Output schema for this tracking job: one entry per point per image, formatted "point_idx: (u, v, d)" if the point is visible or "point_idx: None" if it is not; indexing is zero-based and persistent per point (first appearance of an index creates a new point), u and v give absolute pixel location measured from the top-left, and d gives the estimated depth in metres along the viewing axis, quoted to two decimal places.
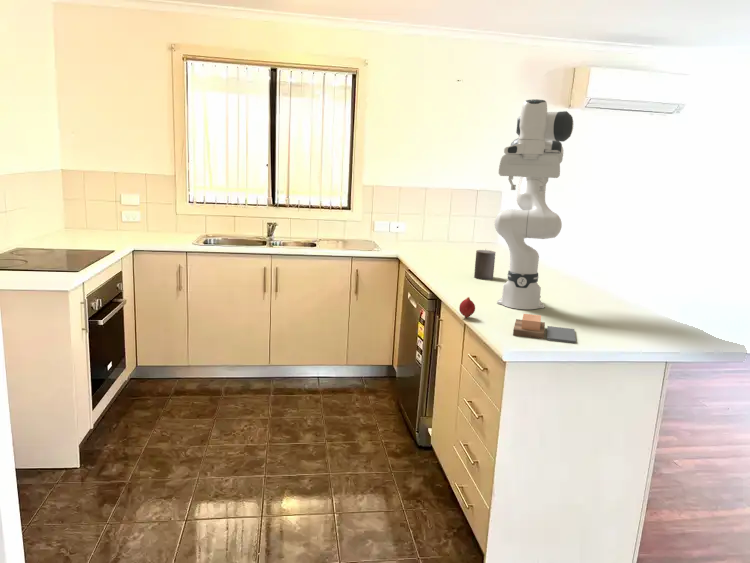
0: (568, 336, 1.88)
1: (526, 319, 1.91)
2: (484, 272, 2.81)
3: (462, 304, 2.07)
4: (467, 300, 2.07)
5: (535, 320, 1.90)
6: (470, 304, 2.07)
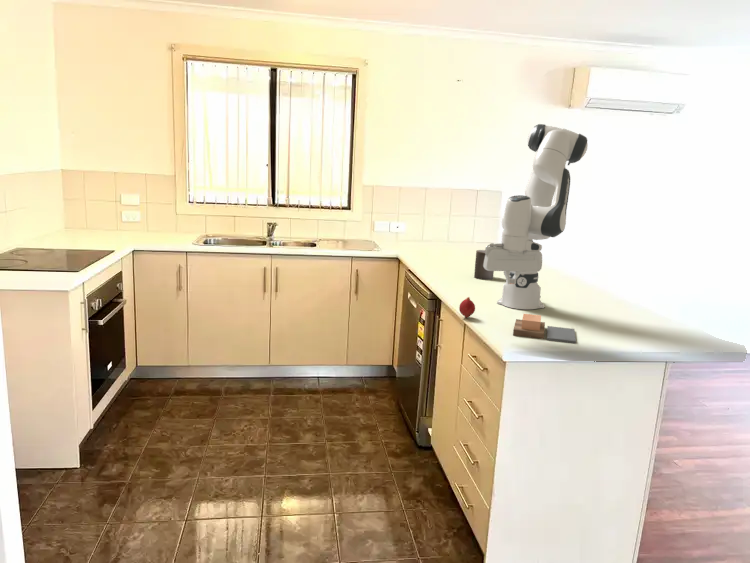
0: (568, 336, 1.88)
1: (526, 319, 1.91)
2: (484, 272, 2.81)
3: (462, 304, 2.07)
4: (467, 300, 2.07)
5: (535, 320, 1.90)
6: (470, 304, 2.07)
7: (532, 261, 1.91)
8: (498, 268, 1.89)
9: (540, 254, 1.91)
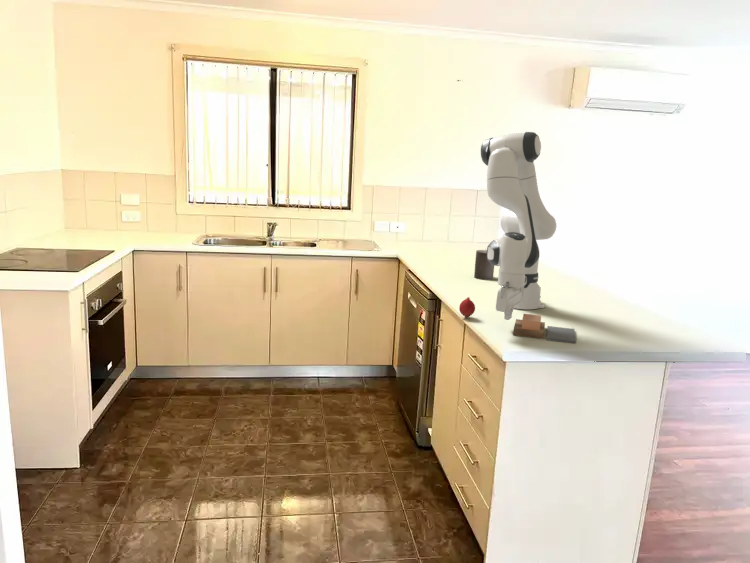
0: (568, 336, 1.88)
1: (526, 319, 1.91)
2: (484, 272, 2.81)
3: (462, 304, 2.07)
4: (467, 300, 2.07)
5: (535, 320, 1.90)
6: (470, 304, 2.07)
7: (519, 293, 1.99)
8: (509, 307, 1.89)
9: (524, 285, 2.00)
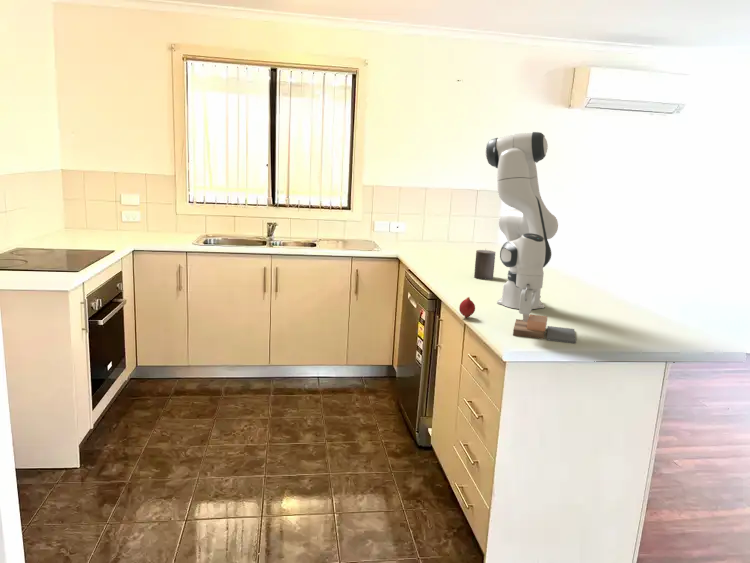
0: (568, 336, 1.88)
1: (531, 320, 1.91)
2: (484, 272, 2.81)
3: (462, 304, 2.07)
4: (467, 300, 2.07)
5: (540, 321, 1.90)
6: (470, 304, 2.07)
7: (534, 294, 1.98)
8: (531, 309, 1.87)
9: None
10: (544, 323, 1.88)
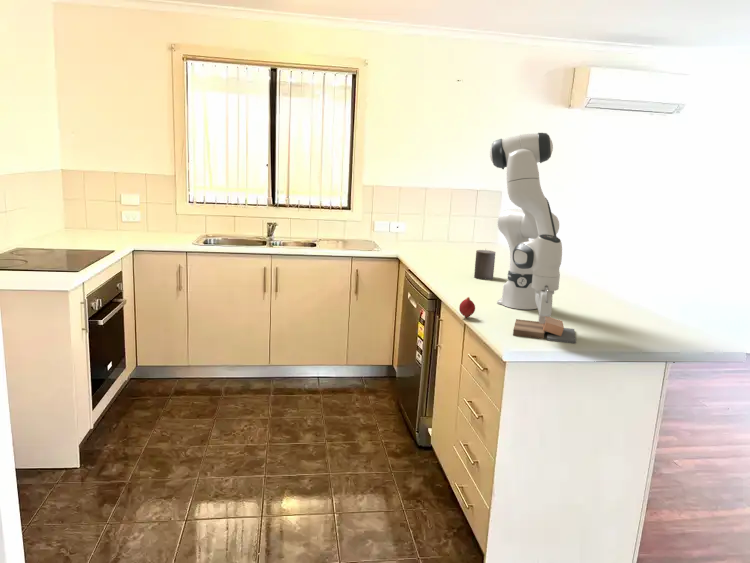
0: (568, 336, 1.88)
1: (549, 322, 1.89)
2: (484, 272, 2.81)
3: (462, 304, 2.07)
4: (467, 300, 2.07)
5: (558, 325, 1.88)
6: (470, 304, 2.07)
7: None
8: None
9: None
10: (562, 328, 1.87)
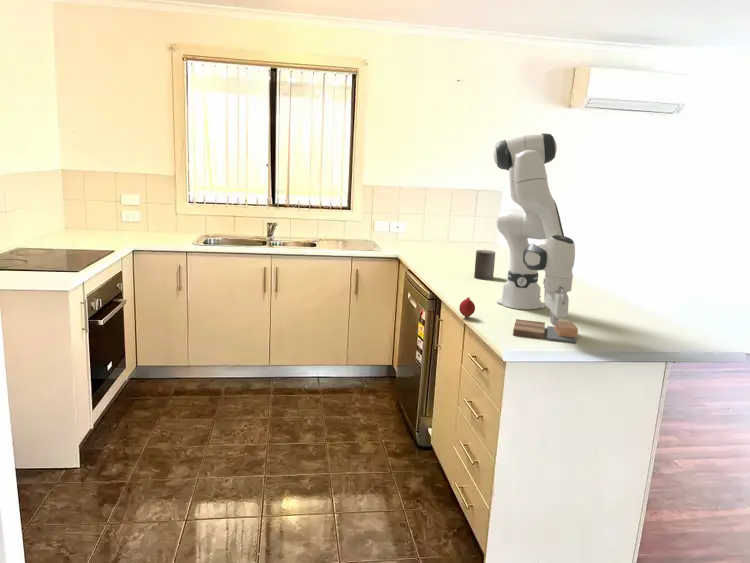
0: None
1: (562, 326, 1.88)
2: (484, 272, 2.81)
3: (462, 304, 2.07)
4: (467, 300, 2.07)
5: (571, 327, 1.88)
6: (470, 304, 2.06)
7: None
8: None
9: None
10: (576, 329, 1.87)
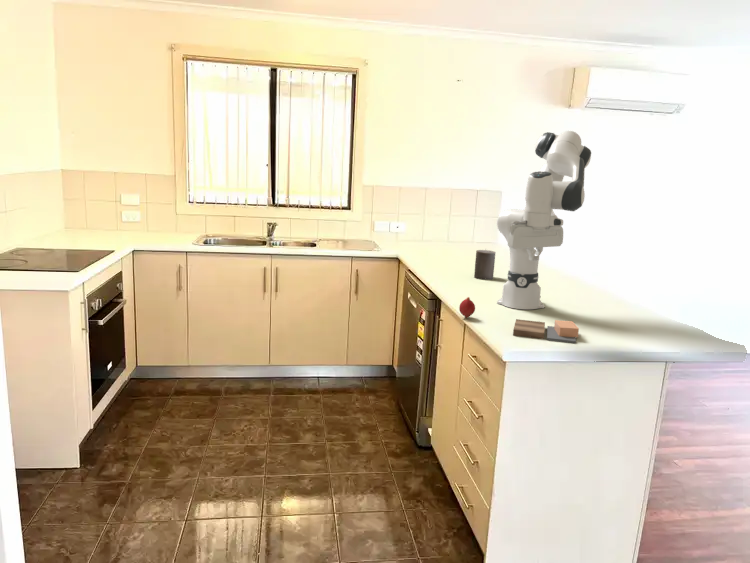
0: None
1: (563, 326, 1.88)
2: (484, 272, 2.81)
3: (462, 304, 2.07)
4: (467, 300, 2.07)
5: (572, 327, 1.88)
6: (470, 304, 2.07)
7: (554, 236, 1.93)
8: (523, 245, 1.90)
9: (561, 229, 1.93)
10: (577, 329, 1.87)
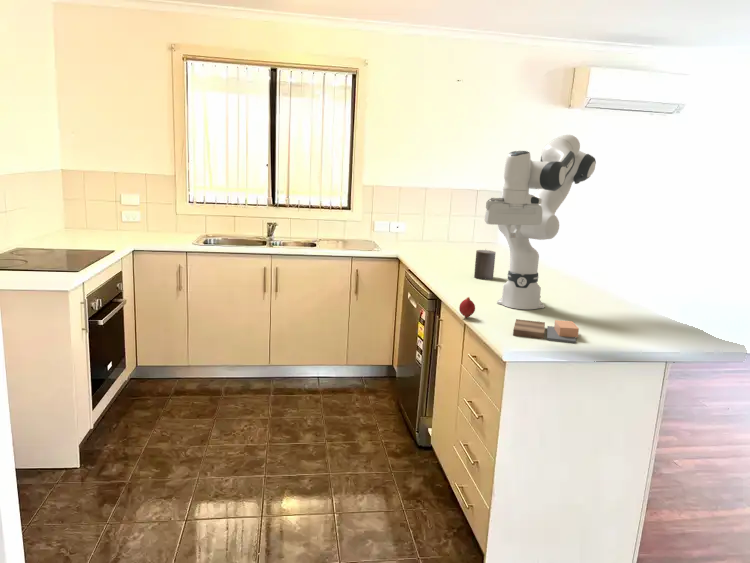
0: None
1: (563, 326, 1.88)
2: (484, 272, 2.81)
3: (462, 304, 2.07)
4: (467, 300, 2.07)
5: (572, 327, 1.88)
6: (470, 304, 2.06)
7: (532, 215, 1.97)
8: (499, 222, 1.95)
9: (540, 208, 1.96)
10: (577, 329, 1.87)
